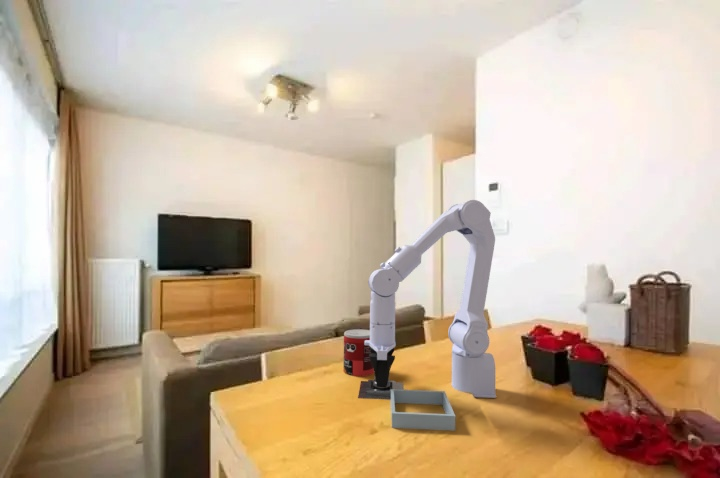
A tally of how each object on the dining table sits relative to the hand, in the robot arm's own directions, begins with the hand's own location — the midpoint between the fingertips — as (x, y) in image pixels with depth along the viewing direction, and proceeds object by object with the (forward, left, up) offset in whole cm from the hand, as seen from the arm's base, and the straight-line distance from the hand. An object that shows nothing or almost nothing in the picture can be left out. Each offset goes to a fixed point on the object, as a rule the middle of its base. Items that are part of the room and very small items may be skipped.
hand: (381, 382), depth 82 cm
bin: (-7, +12, -3) cm, 14 cm away
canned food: (+6, -12, -3) cm, 14 cm away
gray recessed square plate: (0, 0, -3) cm, 3 cm away
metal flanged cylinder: (0, 0, -2) cm, 2 cm away
